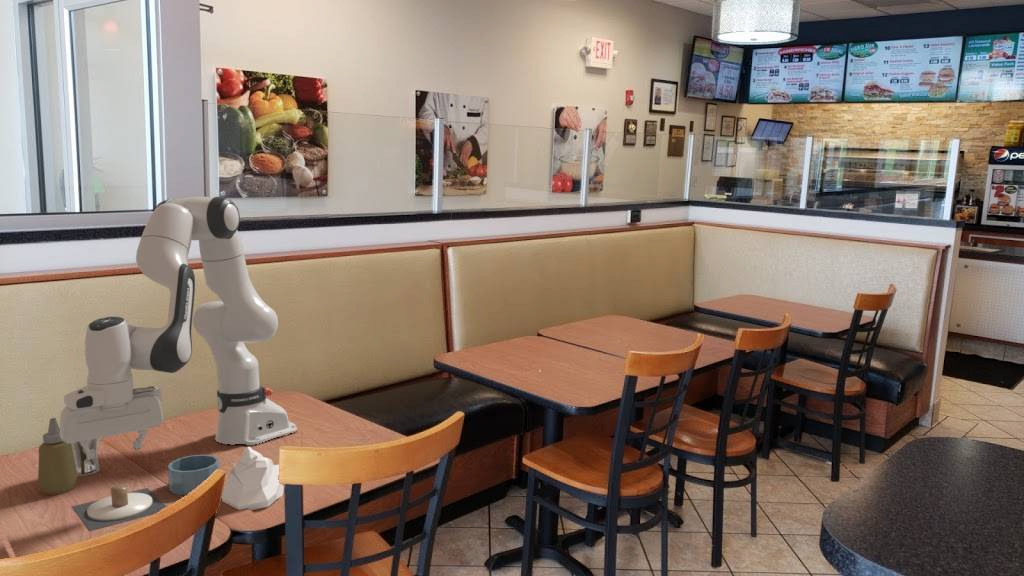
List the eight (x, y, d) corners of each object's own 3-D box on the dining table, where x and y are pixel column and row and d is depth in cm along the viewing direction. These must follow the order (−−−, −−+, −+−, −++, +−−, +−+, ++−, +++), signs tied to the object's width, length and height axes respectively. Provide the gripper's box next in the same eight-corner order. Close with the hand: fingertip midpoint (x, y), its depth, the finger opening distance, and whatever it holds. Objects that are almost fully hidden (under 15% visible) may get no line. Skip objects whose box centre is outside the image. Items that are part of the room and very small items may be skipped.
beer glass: (88, 478, 193) (83, 419, 191) (64, 475, 194) (59, 417, 192) (108, 467, 200) (103, 411, 198) (84, 465, 201) (79, 409, 199)
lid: (142, 491, 183) (141, 471, 182) (160, 509, 173) (158, 488, 172) (80, 506, 174) (79, 486, 174) (96, 526, 165) (94, 505, 164)
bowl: (210, 476, 194) (208, 451, 193) (226, 489, 186) (225, 463, 185) (163, 487, 187) (162, 462, 186) (179, 502, 179) (177, 475, 178)
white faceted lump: (293, 510, 178) (286, 458, 172) (223, 525, 173) (214, 473, 167) (286, 478, 189) (280, 428, 183) (221, 492, 184) (212, 441, 178)
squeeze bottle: (50, 486, 188) (43, 414, 185) (85, 485, 189) (78, 413, 186) (32, 499, 180) (25, 424, 178) (69, 498, 181) (62, 423, 178)
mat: (147, 491, 185) (147, 487, 185) (169, 512, 173) (169, 509, 173) (72, 509, 175) (71, 506, 175) (90, 534, 163) (89, 530, 163)
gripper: (156, 382, 179) (160, 440, 181) (55, 397, 166) (60, 460, 167) (165, 387, 174) (168, 447, 176) (61, 403, 161) (66, 468, 163)
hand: (114, 453), depth 172 cm, fingers open, 8 cm apart
